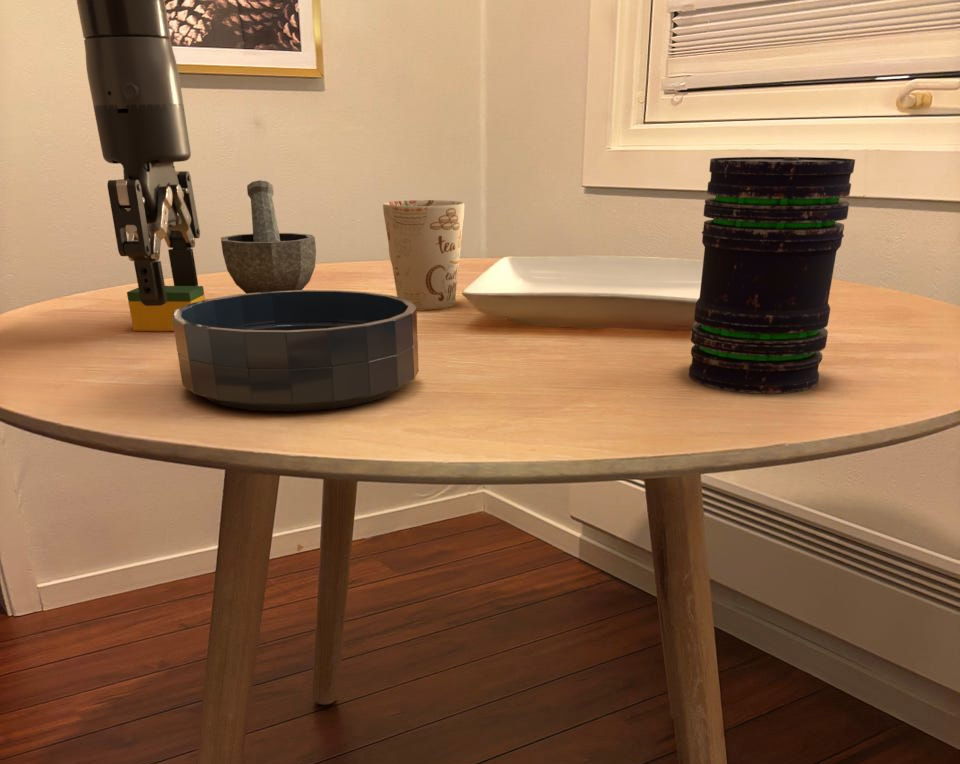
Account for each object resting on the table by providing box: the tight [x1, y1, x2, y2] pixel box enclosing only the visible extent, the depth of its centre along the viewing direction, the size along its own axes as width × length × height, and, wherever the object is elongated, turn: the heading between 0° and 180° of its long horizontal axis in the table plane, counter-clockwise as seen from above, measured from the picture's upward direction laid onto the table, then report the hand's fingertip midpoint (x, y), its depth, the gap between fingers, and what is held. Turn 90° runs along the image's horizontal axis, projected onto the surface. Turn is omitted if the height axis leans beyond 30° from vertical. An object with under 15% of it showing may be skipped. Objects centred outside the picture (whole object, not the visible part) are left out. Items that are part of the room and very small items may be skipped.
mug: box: [382, 199, 465, 311], centre depth 101 cm, size 8×13×10 cm, turn 33°
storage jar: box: [688, 156, 856, 394], centre depth 69 cm, size 10×10×15 cm
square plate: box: [461, 255, 704, 332], centre depth 97 cm, size 27×27×4 cm
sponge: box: [126, 285, 206, 332], centre depth 90 cm, size 6×4×4 cm, turn 86°
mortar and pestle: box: [220, 179, 317, 294], centre depth 98 cm, size 11×9×12 cm
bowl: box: [172, 289, 420, 412], centre depth 70 cm, size 17×17×6 cm
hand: (171, 296), depth 90 cm, fingers open, 8 cm apart
